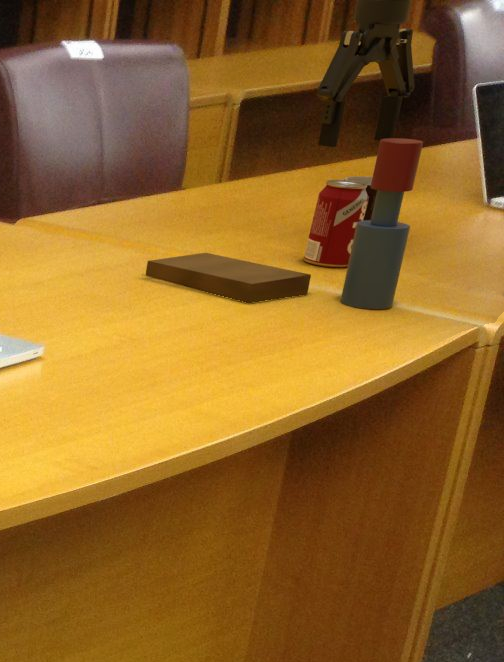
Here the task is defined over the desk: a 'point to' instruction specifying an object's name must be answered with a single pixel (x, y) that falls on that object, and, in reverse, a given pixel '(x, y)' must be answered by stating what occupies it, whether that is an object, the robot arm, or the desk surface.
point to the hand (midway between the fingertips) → (355, 143)
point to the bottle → (376, 255)
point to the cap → (396, 164)
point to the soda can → (336, 223)
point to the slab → (230, 277)
